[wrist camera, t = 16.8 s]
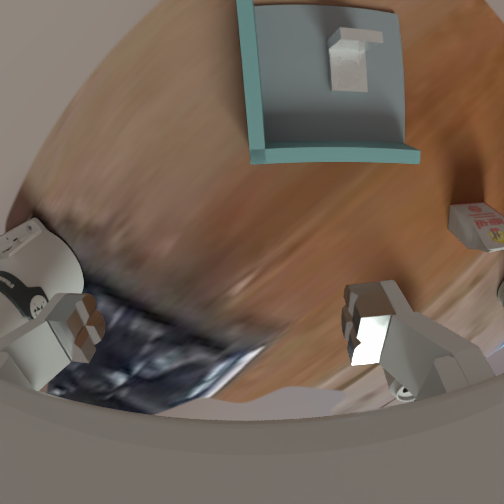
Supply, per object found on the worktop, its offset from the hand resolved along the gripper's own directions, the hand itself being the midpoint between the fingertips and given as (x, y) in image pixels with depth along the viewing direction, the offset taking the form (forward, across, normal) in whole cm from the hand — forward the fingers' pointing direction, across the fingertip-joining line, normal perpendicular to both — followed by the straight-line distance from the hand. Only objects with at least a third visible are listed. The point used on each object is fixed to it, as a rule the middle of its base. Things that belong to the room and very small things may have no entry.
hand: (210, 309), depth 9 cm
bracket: (+26, -11, -10) cm, 31 cm away
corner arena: (+27, -10, -9) cm, 30 cm away
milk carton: (+27, -30, +8) cm, 42 cm away
